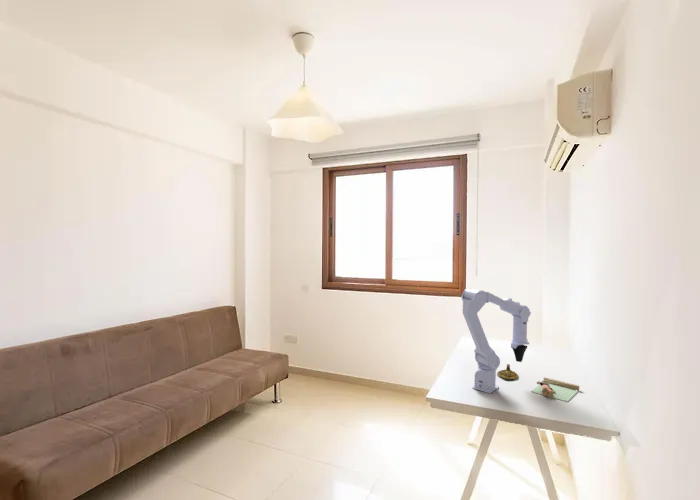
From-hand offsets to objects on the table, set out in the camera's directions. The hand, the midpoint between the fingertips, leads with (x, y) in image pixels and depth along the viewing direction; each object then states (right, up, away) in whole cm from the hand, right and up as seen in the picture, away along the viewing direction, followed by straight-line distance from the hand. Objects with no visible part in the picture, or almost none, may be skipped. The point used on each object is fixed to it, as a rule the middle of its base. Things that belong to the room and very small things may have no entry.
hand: (518, 361), depth 166 cm
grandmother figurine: (+5, -9, -14) cm, 17 cm away
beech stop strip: (+18, -11, -1) cm, 21 cm away
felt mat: (+12, -11, -8) cm, 18 cm away
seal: (0, -11, +11) cm, 16 cm away
